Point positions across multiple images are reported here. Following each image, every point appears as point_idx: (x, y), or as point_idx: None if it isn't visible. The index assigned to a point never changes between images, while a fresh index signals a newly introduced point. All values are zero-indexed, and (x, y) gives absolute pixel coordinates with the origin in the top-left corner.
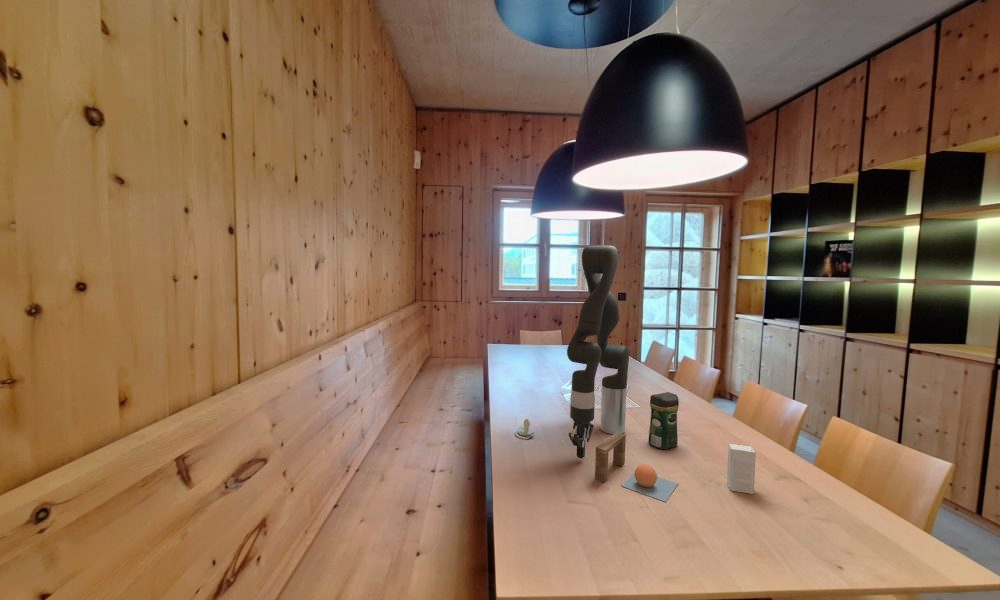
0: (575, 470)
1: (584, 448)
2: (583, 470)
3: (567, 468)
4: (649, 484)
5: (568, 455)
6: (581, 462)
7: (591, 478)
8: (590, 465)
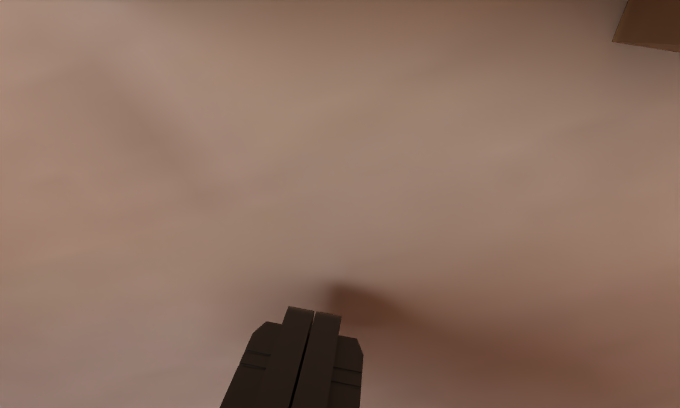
0: (532, 298)
1: (280, 400)
2: (497, 233)
3: (521, 362)
4: None
5: None
6: (330, 289)
7: (675, 104)
8: (342, 200)
